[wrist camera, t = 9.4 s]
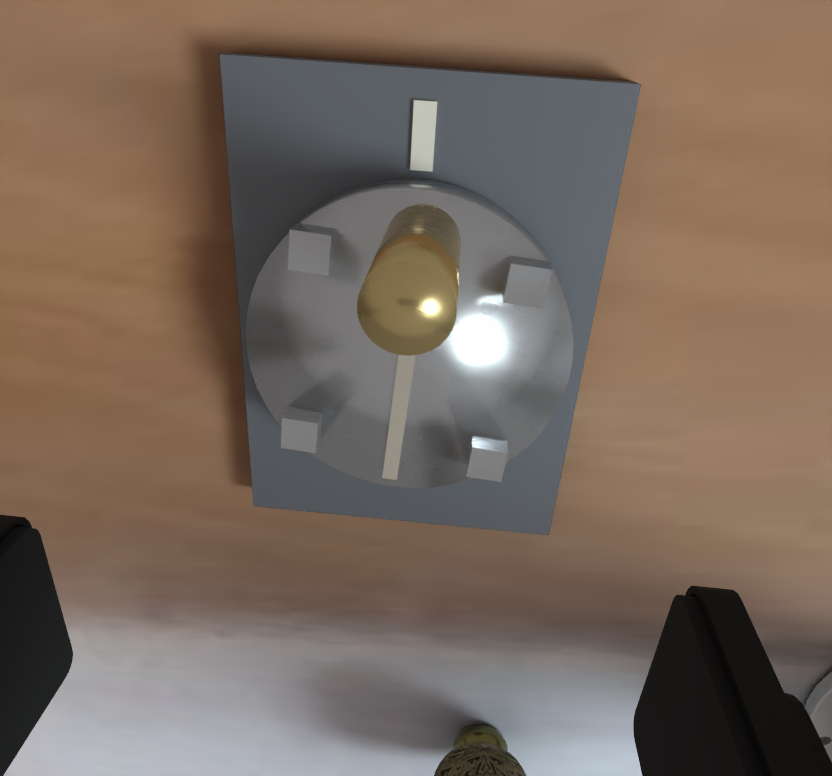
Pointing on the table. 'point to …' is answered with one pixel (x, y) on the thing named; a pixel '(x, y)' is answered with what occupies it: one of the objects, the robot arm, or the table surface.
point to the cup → (479, 755)
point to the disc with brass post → (410, 335)
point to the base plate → (438, 161)
